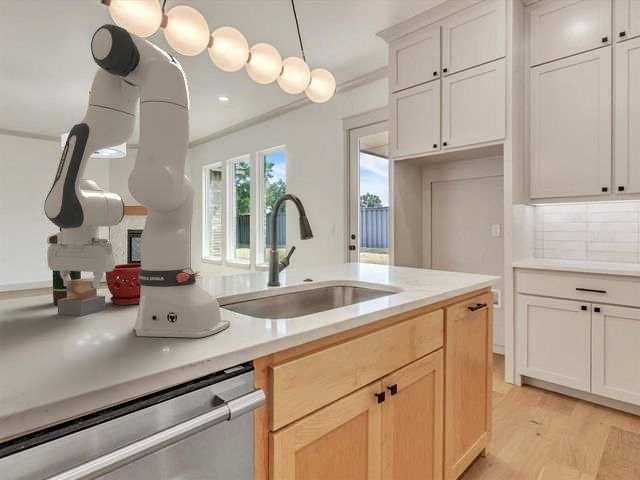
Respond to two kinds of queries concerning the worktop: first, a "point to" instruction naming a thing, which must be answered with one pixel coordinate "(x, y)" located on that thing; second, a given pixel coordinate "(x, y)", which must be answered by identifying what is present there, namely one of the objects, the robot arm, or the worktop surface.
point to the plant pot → (124, 284)
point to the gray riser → (81, 306)
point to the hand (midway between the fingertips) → (81, 286)
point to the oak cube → (80, 289)
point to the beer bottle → (62, 283)
